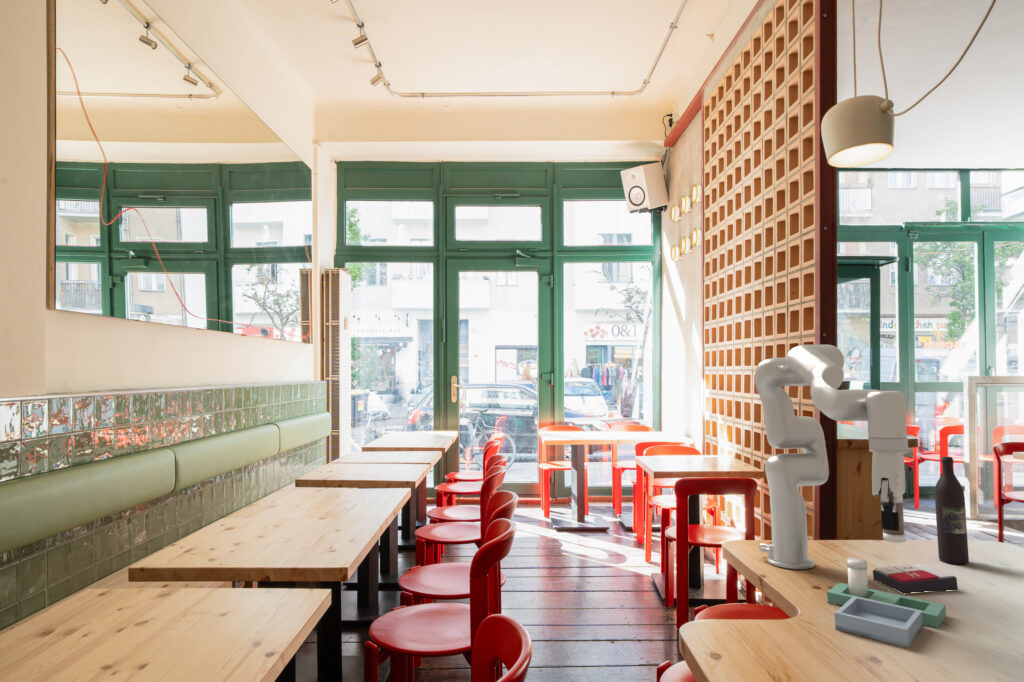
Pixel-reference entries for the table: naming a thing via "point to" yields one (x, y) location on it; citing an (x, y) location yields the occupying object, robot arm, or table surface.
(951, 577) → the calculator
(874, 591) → the block
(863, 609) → the parts tray
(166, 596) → the table surface
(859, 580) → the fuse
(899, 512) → the fuse
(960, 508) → the wine bottle
